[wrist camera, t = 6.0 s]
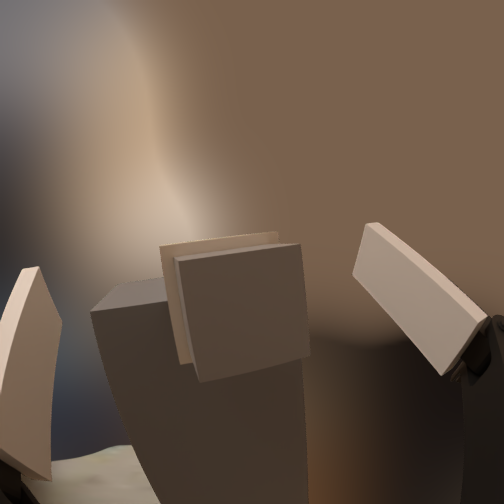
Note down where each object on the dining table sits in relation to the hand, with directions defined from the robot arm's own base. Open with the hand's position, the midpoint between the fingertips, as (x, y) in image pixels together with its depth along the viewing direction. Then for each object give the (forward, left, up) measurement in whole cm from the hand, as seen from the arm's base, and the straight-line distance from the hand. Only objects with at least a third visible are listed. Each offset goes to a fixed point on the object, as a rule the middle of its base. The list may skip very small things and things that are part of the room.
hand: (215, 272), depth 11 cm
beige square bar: (0, +9, -2) cm, 10 cm away
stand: (0, +11, -34) cm, 36 cm away
